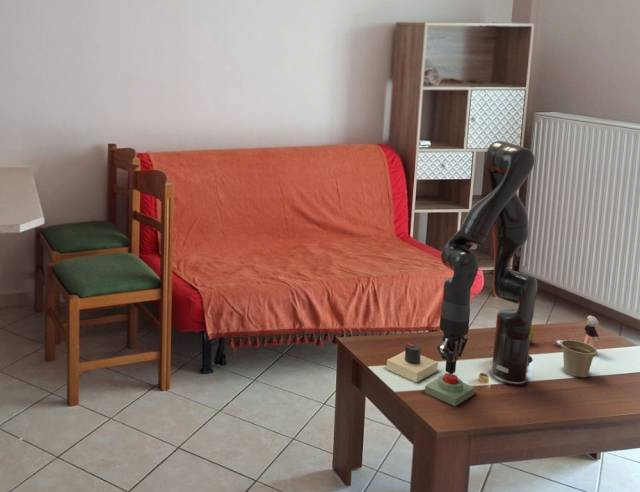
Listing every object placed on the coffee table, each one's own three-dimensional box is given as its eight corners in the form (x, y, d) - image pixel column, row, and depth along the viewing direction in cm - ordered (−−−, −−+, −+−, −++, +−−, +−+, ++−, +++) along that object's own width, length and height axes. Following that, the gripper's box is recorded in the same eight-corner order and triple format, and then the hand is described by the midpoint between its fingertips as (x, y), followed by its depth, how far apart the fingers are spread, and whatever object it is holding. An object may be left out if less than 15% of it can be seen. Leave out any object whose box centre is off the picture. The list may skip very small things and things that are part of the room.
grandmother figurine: (574, 347, 230) (578, 311, 229) (585, 347, 230) (589, 311, 229) (591, 358, 223) (595, 321, 221) (602, 358, 223) (607, 321, 221)
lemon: (535, 347, 230) (537, 324, 229) (517, 345, 231) (519, 322, 230) (529, 340, 235) (531, 317, 234) (512, 338, 236) (514, 316, 235)
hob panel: (407, 358, 219) (407, 349, 219) (437, 371, 212) (438, 361, 211) (386, 369, 212) (386, 359, 212) (416, 382, 204) (417, 372, 204)
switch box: (443, 381, 205) (445, 368, 205) (474, 394, 198) (475, 381, 198) (424, 392, 199) (425, 379, 198) (455, 406, 192) (456, 393, 191)
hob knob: (423, 361, 211) (424, 347, 210) (414, 365, 208) (415, 350, 208) (410, 356, 215) (411, 341, 214) (401, 359, 212) (402, 344, 211)
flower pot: (596, 373, 213) (599, 346, 212) (591, 384, 206) (594, 356, 205) (561, 362, 219) (564, 337, 218) (555, 372, 212) (557, 346, 211)
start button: (447, 377, 201) (447, 371, 200) (459, 382, 198) (460, 376, 198) (441, 381, 198) (441, 375, 198) (453, 386, 196) (453, 380, 195)
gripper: (455, 325, 189) (451, 384, 191) (479, 314, 197) (474, 370, 199) (429, 316, 195) (425, 373, 197) (454, 305, 203) (449, 360, 205)
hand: (450, 372), depth 198 cm, fingers closed
